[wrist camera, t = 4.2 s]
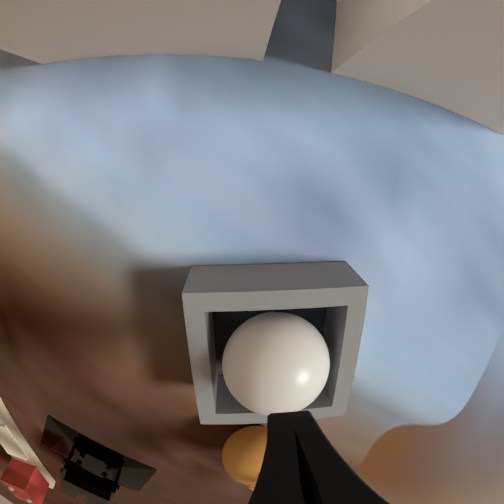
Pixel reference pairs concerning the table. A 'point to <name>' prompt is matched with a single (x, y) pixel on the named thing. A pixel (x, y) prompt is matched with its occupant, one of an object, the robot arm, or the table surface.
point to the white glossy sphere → (275, 363)
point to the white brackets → (259, 30)
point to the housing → (273, 298)
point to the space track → (22, 463)
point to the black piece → (92, 465)
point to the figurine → (245, 454)
